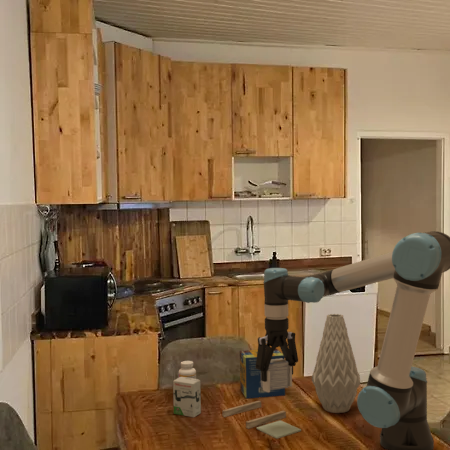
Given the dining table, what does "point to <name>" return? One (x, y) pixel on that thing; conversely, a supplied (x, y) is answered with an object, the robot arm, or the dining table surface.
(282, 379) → the medicine box
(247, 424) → the slot rack
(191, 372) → the supplement bottle
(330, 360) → the vase
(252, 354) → the protein box
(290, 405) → the dining table surface
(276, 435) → the sage mat
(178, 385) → the ink box
